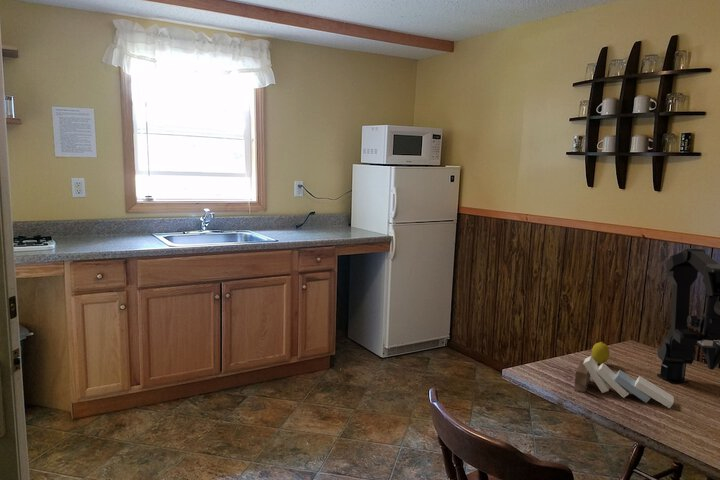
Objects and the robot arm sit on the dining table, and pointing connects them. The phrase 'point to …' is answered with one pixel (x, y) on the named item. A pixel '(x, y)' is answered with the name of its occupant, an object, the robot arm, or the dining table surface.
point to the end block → (581, 378)
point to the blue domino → (630, 385)
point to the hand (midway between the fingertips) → (710, 369)
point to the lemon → (600, 352)
